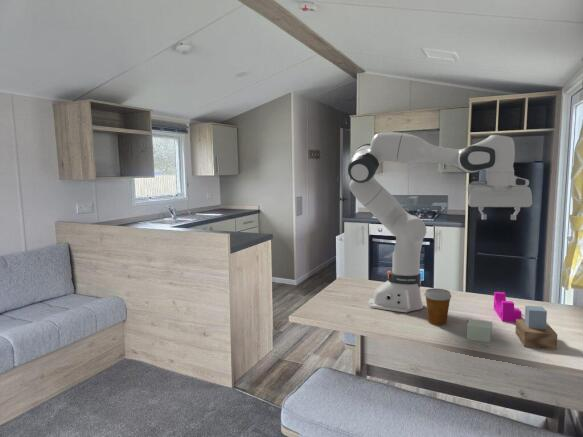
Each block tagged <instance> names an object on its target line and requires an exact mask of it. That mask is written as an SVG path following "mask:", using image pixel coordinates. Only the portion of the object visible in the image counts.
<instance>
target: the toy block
mask: <svg viewBox="0 0 583 437" xmlns="http://www.w3.org/2000/svg"><path fill="white" fill-rule="evenodd" d="M506 296H507V295H506V293H505V292H504V291H501V292H500V291H494V292H493V310H494V312H495V314H497V316H498V318H499V319H500V320H501V322H502V323H515V324H516V319H521V320H522V310H520V309H519V307H515V303H514V302H513V301H512V300H506V299H507V297H506Z"/></svg>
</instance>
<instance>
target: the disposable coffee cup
mask: <svg viewBox="0 0 583 437" xmlns="http://www.w3.org/2000/svg"><path fill="white" fill-rule="evenodd" d="M424 296H425V301H426V311H427V319H428V323H429V324H431V325H434V326H446V325H447V322H448V321H447V320H448V315H449V308H450V303H451V302H450V301H451V299H452V294H451V292H450V290H447V289H444V288H433V287H432V288H427V289H425V293H424Z"/></svg>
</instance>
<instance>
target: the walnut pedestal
mask: <svg viewBox="0 0 583 437" xmlns="http://www.w3.org/2000/svg"><path fill="white" fill-rule="evenodd" d="M515 335H516V336H517V338H518V339H519V341H520V343H521V344H522V346H523V347H525V348H530V349H531V348H532V349H533V348H534V349H543V350H553V351H557V350H558V348H557V346H558V334H557V332H556V331H555V330H554V329H553V328H552V327H551V325H550V324H549V323H548V322H547V321H546V329H534V328H528V327H527V325H526V324H525V319H522V318H521V319H516V323H515Z"/></svg>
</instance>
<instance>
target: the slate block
mask: <svg viewBox="0 0 583 437" xmlns="http://www.w3.org/2000/svg"><path fill="white" fill-rule="evenodd" d="M547 314H548V311H547V310H546V309H545V307H543V306H538V305H525V307H524V320H525V324H526V325H527V327H528V328H534V329H546V322H547V318H548V317H547V316H548V315H547Z"/></svg>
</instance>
